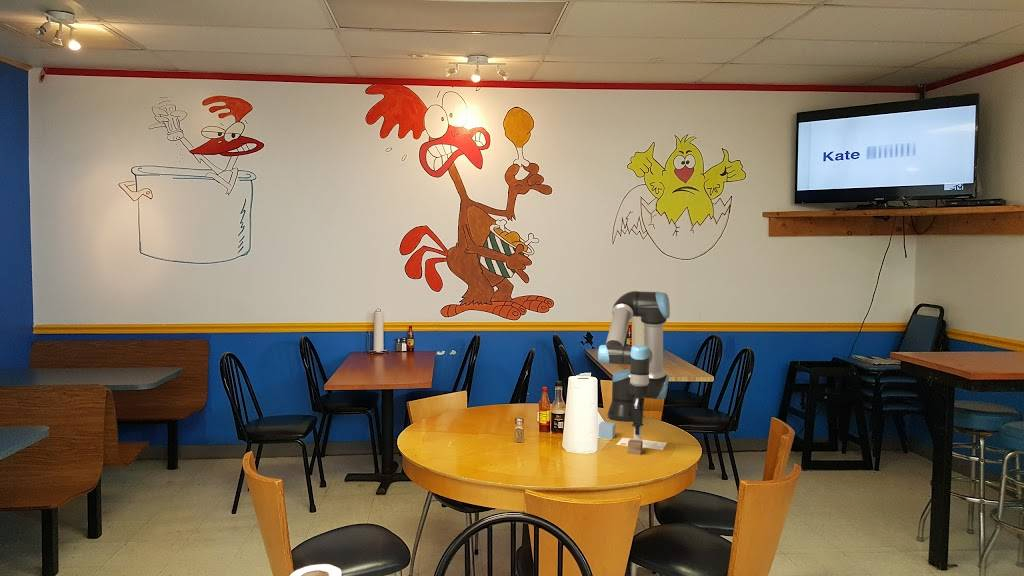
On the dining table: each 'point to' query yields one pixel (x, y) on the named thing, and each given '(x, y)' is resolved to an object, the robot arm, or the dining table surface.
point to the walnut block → (635, 446)
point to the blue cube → (607, 430)
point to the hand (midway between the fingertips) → (637, 441)
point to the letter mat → (644, 444)
